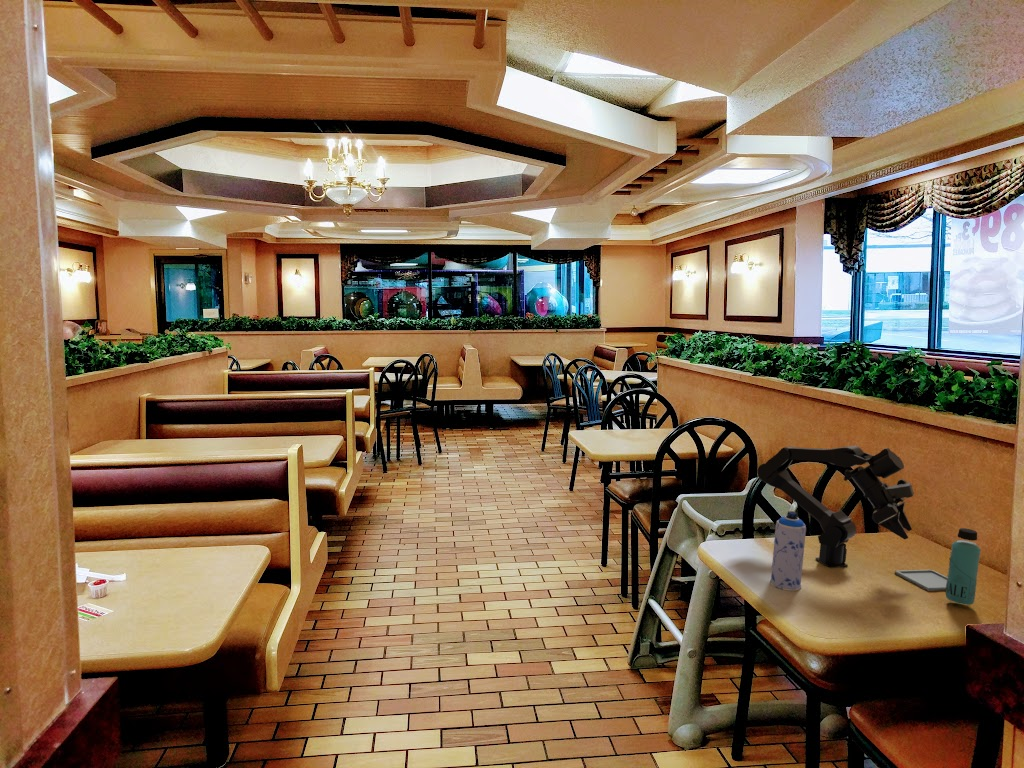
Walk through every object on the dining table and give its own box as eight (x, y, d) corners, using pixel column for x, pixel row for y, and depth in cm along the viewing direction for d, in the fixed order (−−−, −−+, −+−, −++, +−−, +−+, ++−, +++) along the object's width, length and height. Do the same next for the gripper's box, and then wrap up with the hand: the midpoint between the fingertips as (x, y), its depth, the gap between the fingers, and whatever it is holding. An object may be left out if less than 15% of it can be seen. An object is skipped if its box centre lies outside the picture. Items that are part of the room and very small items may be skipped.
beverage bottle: (971, 603, 177) (980, 528, 175) (976, 613, 171) (986, 535, 169) (942, 597, 179) (951, 523, 177) (946, 607, 173) (955, 530, 171)
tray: (928, 591, 184) (928, 587, 183) (894, 573, 195) (895, 570, 195) (966, 589, 186) (967, 586, 186) (931, 572, 198) (931, 569, 198)
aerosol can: (787, 577, 188) (793, 507, 186) (807, 589, 181) (815, 515, 179) (763, 580, 186) (770, 508, 183) (783, 591, 178) (790, 517, 176)
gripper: (893, 477, 181) (933, 528, 177) (901, 465, 196) (939, 512, 192) (855, 498, 187) (894, 548, 182) (866, 485, 202) (902, 531, 197)
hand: (908, 534), depth 188 cm, fingers open, 9 cm apart
